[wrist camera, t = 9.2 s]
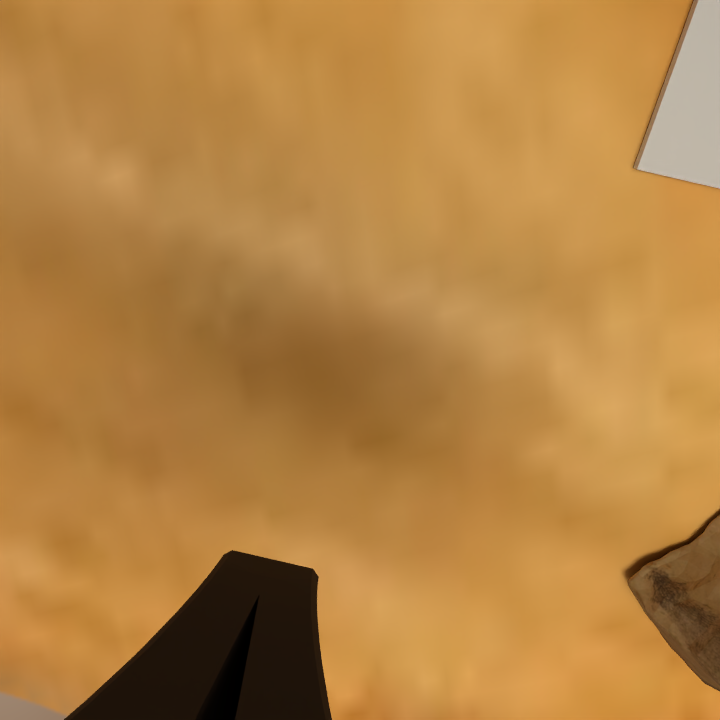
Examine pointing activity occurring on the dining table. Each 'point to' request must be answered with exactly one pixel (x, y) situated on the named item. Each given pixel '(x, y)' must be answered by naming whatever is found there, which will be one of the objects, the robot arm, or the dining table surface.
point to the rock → (687, 601)
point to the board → (689, 105)
